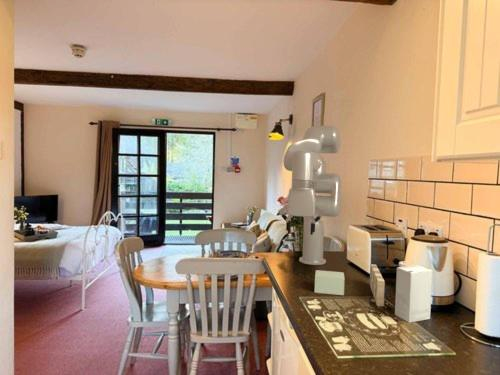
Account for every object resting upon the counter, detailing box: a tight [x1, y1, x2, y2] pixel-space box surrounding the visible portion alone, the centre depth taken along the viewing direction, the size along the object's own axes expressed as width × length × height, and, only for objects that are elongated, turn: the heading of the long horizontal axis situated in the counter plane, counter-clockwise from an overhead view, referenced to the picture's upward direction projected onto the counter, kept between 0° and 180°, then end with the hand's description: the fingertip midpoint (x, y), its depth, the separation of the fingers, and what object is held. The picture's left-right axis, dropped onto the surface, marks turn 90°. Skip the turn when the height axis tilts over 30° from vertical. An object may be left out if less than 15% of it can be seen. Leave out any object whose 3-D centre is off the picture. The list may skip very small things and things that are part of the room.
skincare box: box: [394, 264, 433, 324], centre depth 103 cm, size 8×6×15 cm
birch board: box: [369, 263, 386, 307], centre depth 123 cm, size 22×2×8 cm, turn 167°
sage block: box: [314, 269, 346, 296], centre depth 126 cm, size 8×10×6 cm
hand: (300, 233), depth 128 cm, fingers open, 7 cm apart
